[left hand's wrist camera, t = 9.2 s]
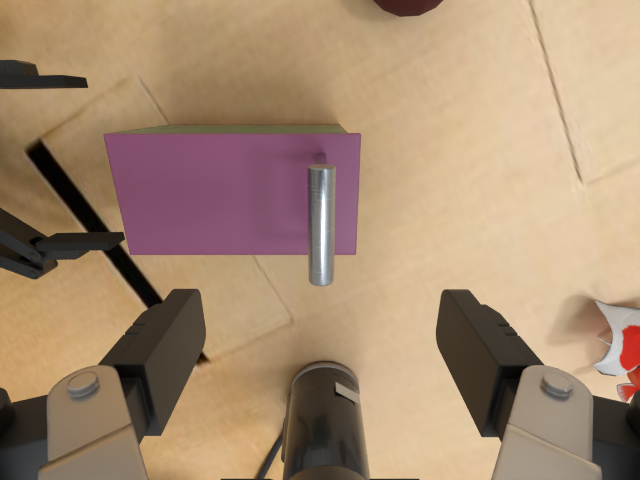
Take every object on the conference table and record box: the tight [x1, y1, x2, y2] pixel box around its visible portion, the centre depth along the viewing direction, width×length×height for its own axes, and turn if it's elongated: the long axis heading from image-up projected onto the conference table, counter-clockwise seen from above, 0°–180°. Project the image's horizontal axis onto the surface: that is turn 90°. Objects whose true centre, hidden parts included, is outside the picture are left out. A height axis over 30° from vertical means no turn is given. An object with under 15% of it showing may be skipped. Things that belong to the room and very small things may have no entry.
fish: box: [593, 300, 640, 403], centre depth 41 cm, size 11×16×10 cm
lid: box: [104, 133, 361, 286], centre depth 22 cm, size 18×9×8 cm, turn 90°
